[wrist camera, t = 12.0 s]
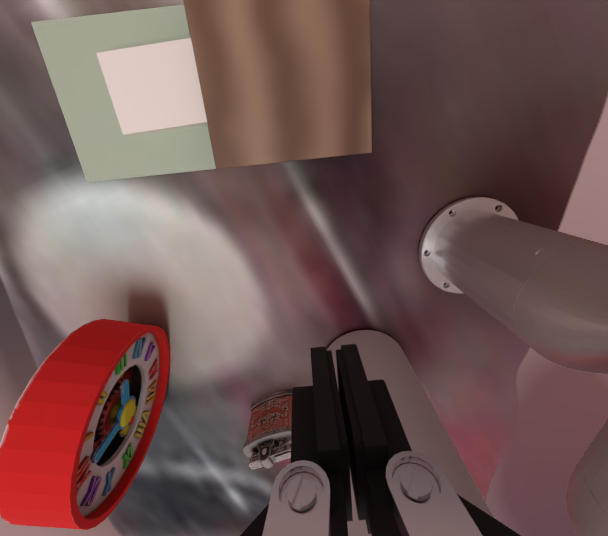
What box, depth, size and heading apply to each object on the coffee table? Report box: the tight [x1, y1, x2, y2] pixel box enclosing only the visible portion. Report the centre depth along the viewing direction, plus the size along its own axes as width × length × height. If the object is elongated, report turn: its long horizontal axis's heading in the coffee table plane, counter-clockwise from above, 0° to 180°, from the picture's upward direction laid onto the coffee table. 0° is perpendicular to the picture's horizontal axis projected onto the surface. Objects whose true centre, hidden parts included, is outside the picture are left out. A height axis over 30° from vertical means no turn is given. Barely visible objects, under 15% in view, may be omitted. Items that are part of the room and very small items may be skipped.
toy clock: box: [0, 319, 170, 530], centre depth 33 cm, size 20×6×20 cm, turn 171°
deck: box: [184, 0, 372, 169], centre depth 29 cm, size 16×15×4 cm
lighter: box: [243, 389, 293, 469], centre depth 41 cm, size 8×3×10 cm, turn 114°
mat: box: [31, 5, 216, 182], centre depth 31 cm, size 15×15×1 cm
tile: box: [96, 38, 208, 136], centre depth 29 cm, size 9×7×2 cm
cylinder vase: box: [326, 330, 495, 536], centre depth 32 cm, size 12×12×25 cm
